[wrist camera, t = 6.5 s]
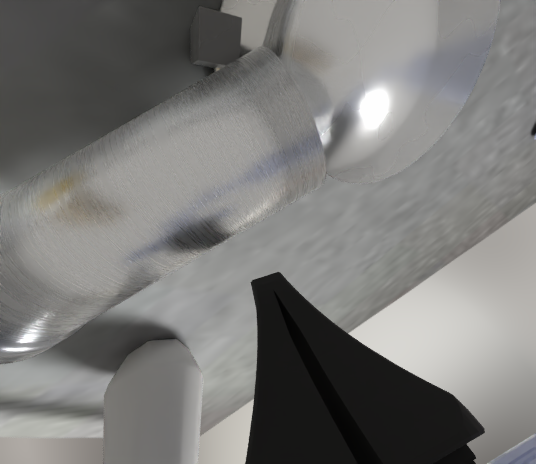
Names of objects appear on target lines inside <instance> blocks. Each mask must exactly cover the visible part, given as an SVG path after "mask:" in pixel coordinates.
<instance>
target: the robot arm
mask: <svg viewBox="0 0 536 464" xmlns="http://www.w3.org/2000/svg"><path fill="white" fill-rule="evenodd" d="M534 138H535V140H536V134H535V136H534ZM251 285H252V290H253V295H254V300H255V305H256V310H257V328H258V348H257V370H256V384H255V395H254V405H253V414H252V421H251V429H250V436H249V444H248V451H247V457H246V463H245V464H476V463H475V462H474V461H473V460H474V459H476V457H475V455H474V453H473V452H472V451H471V450H470V448H469V447H468V446H467V443H468V442H470V441H471V440H473V439H475V438H477V437H478V436H480V435H482V434H483V433H485V431H484V428H483V426H482V425H481V424H480V423H479V422H478V421H477V419H476V418H475V417H474V416H473V415H472V414H471V413H470V412H469V410H468V409H466V407H465V406H463V404H462V403H461V402H460V401H458V400H457V399H456V398H455V397H454V396H453V395H452V394H450V393H449V392H447V391H445V390H443V389H441V388H439V387H437V386H435V385H433V384H431V383H429V382H427V381H425V380H423V379H421V378H419V377H417V376H415V375H414V374H412V373H410V372H408V371H407V370H405V369H403V368H401V367H399V366H398V365H396V364H394V363H393V362H391V361H389V360H388V359H386V358H384V357H383V356H381V355H379V354H378V353H376V352H375V351H373V350H371V349H370V348H368V347H367V346H365V345H363V344H362V343H361V342H359V341H358V340H356V339H355V338H353V337H352V336H350V335H349V334H348V333H346V332H345V331H344V330H342V329H341V328H340V327H338V326H337V325H336V324H334V323H333V322H332V321H331V320H329V319H328V318H327V317H326V316H324V315H323V314H322V313H321V312H320V311H318V310H317V309H316V308H315V307H314V306H313V305H312V304H311V303H309V302H308V301H307V300H306V299H305V298H304V297H303V296H302V295H301V294H300V293H299V292H298V291H297V290H296V289H295V288H294V287H293V286H292V285H291V284H290V283H289V282H288V281H287V280H286V279H285V278H284V276H283V275H282V274H281V273H280V272H277V273H273V274H270V275H267V276H264V277H261V278H258V279H255V280H253V281H252V282H251ZM487 464H536V433H535V434H533V435H532V436H530V437H528V438H527V439H526V440H524V441H523V442H520V443H519V444H517V445H516V446H514V447H512V448H511V449H509V450H508V451H506V452H504V453H503V454H501V455H500V456H498V457H497V458H495V459H494V460H492V461H490V462H488V463H487Z"/></svg>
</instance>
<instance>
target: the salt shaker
mask: <svg viewBox="0 0 536 464" xmlns="http://www.w3.org/2000/svg"><path fill="white" fill-rule="evenodd" d="M202 392H203V376H202V372H201V370H200V368H199V366H198V364H197V363H196V361H195V359H194V357H193V355H192V354H191V352H190V350H189V349H188V348H187V347H186V346H185V345H183V344H182V343H181V342H180V341H179V340H177V339H166V340H154V341H147V342H146V343H145V344H143V345H142V346H140V347H139V348H137V349H136V350H134V351H133V352H131V353H130V354H129V355H127V357H126V358H125V360H124V361H123V363H122V364H121V366H120V368H119V369H118V371H117V372H116V374H115V375H114V377H113V378H112V380H111V381H110V383H109V385H108V387H107V389H106V392H105V394H104V435H103V464H198V454H199V438H200V423H201V408H202Z"/></svg>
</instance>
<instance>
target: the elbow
mask: <svg viewBox="0 0 536 464" xmlns="http://www.w3.org/2000/svg"><path fill="white" fill-rule="evenodd" d="M500 2H501V0H277V1H276V4H275V6H274V8H273V11H272V14H271V17H270V20H269V23H268V26H267V31H266V36H265V40H264V46H259V47H258V48H256V49H254V50H252V51H251V52H249V53H247V54H246V55H244V56H242V57H240V58H239V59H237V60H235V61H233V62H232V63H230V64H228V65H226V66H225V67H223V68H221V69H219V70H218V71H216V72H214V73H213V74H211V75H209V76H207V77H206V78H204V79H202V80H200V81H199V82H197V83H195V84H193V85H192V86H190V87H188V88H186V89H185V90H183V91H181V92H179V93H178V94H176V95H174V96H173V97H171V98H169V99H167V100H166V101H164V102H162V103H160V104H159V105H157V106H155V107H153V108H152V109H150V110H148V111H146V112H145V113H143V114H141V115H139V116H138V117H136V118H134V119H133V120H131V121H129V122H127V123H126V124H124V125H122V126H120V127H119V128H117V129H115V130H113V131H112V132H110V133H108V134H106V135H105V136H103V137H101V138H100V139H98V140H96V141H94V142H93V143H91V144H89V145H87V146H86V147H84V148H82V149H80V150H79V151H77V152H75V153H73V154H72V155H70V156H68V157H66V158H65V159H63V160H61V161H60V162H58V163H56V164H54V165H53V166H51V167H49V168H47V169H46V170H44V171H42V172H40V173H39V174H37V175H35V176H33V177H32V178H30V179H28V180H27V181H25V182H23V183H21V184H20V185H18V186H16V187H14V188H13V189H11V190H9V191H7V192H6V193H4V194H2V195H0V364H6V363H13V362H17V361H21V360H25V359H28V358H31V357H33V356H36V355H38V354H40V353H42V352H44V351H46V350H47V349H49V348H51V347H53V346H54V345H56V344H58V343H60V342H61V341H63V340H65V339H66V338H68V337H70V336H71V335H73V334H74V333H76V332H77V331H78V330H79V329H81V328H82V327H83V326H84V325H85V323H87V322H89V321H90V320H92V319H94V318H95V317H97V316H99V315H101V314H102V313H104V312H106V311H107V310H109V309H111V308H113V307H114V306H116V305H118V304H120V303H121V302H123V301H125V300H126V299H128V298H130V297H132V296H133V295H135V294H137V293H139V292H140V291H142V290H144V289H145V288H147V287H149V286H151V285H152V284H154V283H156V282H157V281H159V280H161V279H163V278H164V277H166V276H168V275H170V274H171V273H173V272H175V271H176V270H178V269H180V268H182V267H183V266H185V265H187V264H188V263H190V262H192V261H194V260H195V259H197V258H199V257H201V256H202V255H204V254H206V253H207V252H209V251H211V250H213V249H214V248H216V247H218V246H219V245H221V244H223V243H225V242H226V241H228V240H230V239H232V238H233V237H235V236H237V235H238V234H240V233H242V232H244V231H245V230H247V229H249V228H250V227H252V226H254V225H256V224H257V223H259V222H261V221H263V220H264V219H266V218H268V217H269V216H271V215H273V214H275V213H276V212H278V211H280V210H281V209H283V208H285V207H287V206H288V205H290V204H292V203H294V202H295V201H297V200H299V199H300V198H302V197H304V196H306V195H307V194H309V193H311V192H313V191H314V190H316V189H318V188H319V187H321V186H322V185H323V184H324V182H325V179H326V174H328V175H329V176H331V177H332V178H335V179H337V180H340V181H342V182H347V183H352V184H365V183H372V182H376V181H380V180H383V179H386V178H388V177H391V176H393V175H395V174H397V173H399V172H400V171H402V170H404V169H405V168H407V167H408V166H410V165H411V164H413V163H414V162H415V161H416V160H418V159H419V158H420V157H421V156H423V155H424V154H425V153H426V152H427V151H428V150H429V149H430V148H431V147H432V146H433V145H434V144H435V143H436V142H437V141H438V140H439V139H440V138H441V136H442V135H443V134H444V133H445V131H446V130H447V129H448V128H449V126H450V125H451V124H452V122H453V121H454V119H455V118H456V117H457V115H458V114H459V112H460V111H461V109H462V107H463V106H464V104H465V102H466V101H467V99H468V97H469V95H470V93H471V92H472V90H473V88H474V86H475V84H476V82H477V79H478V77H479V75H480V73H481V71H482V68H483V66H484V63H485V60H486V58H487V55H488V53H489V49H490V46H491V43H492V39H493V36H494V32H495V28H496V24H497V20H498V15H499V8H500Z"/></svg>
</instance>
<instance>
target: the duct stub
mask: <svg viewBox="0 0 536 464" xmlns="http://www.w3.org/2000/svg"><path fill="white" fill-rule="evenodd" d="M276 1H277V0H223V1H222V4H221V7H220V10H219V11H216V10H213V9H209V8H206V7H202V6H199V7H198V9H197V12H196V14H195V17H194V19H193V22H192V24H191V27H190V51H191V64H195V65H200V66H205V67H210V68H214V72H216V71H218V70H219V69H221V68H223V67H225V66H226V65H228V64H230V63H232V62H233V61H235V60H237V59H239V58H240V57H242V56H244V55H246V54H247V53H249V52H251V51H252V50H254V49H256V48H258V47H259V46H264V40H265V36H266V31H267V26H268V23H269V20H270V17H271V14H272V11H273V8H274V6H275V4H276Z"/></svg>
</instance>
